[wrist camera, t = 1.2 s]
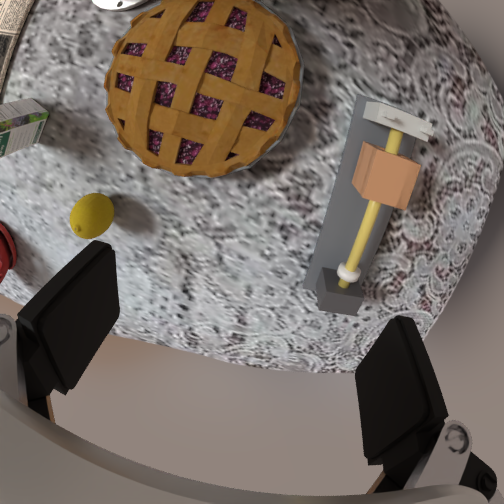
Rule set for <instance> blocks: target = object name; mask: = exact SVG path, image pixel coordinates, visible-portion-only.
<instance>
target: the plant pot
mask: <svg viewBox="0 0 504 504" xmlns="http://www.w3.org/2000/svg"><path fill="white" fill-rule="evenodd" d="M15 264H16V249H15V245H14V242H13V240H12V238H11V235H10V233H8V231H7V230H6V228H5V227H4V226H3V225H2V224H1V223H0V283H1V282H2V280H3V279H4V277H5V275H6V273H7V271H8V269H9V270H10V269H12V268H13V267H14V266H15Z"/></svg>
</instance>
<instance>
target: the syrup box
mask: <svg viewBox="0 0 504 504" xmlns="http://www.w3.org/2000/svg"><path fill="white" fill-rule="evenodd" d="M48 115H49V112H48V111H47V110H45V109H44V108H43V107H42V106H40V105H39V104H38V103H37V102H35V101H34V100H33V99H32V98H28V99H23V100H18V101H14V102H9V103H5V104H1V105H0V158H2V157H4V156H6V155H9V154H11V153H13V152H16V151H18V150H21V149H23V148H26V147H29V146H31V145H34V144H37V143H38V142H39V138H40V135H41V133H42V130H43V128H44V125H45V122H46V120H47V117H48Z"/></svg>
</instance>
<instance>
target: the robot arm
mask: <svg viewBox="0 0 504 504" xmlns="http://www.w3.org/2000/svg"><path fill="white" fill-rule="evenodd" d="M147 1H148V0H92V2H93V3H94V4H95V5H96V6H97V7H100V8H102V9H105V10H108V11H124V10H128V9H131V8H134V7H137V6H139V5H141V4H143V3H145V2H147ZM119 314H120V306H119V297H118V286H117V273H116V257H115V251H114V250H113V249H112V247H111V245H110V244H108V243H104V242H101V241H98V240H94V241H92V242H91V243H90V244H89V245H88V246H86V247H85V248H84V249H83V250H82V251H81V252H80V253H79V254H77V255H76V256H75V257H74V258H73V259H72V260H71V261H70V262H69V263H68V264H67V265H65V266H64V267H63V268H62V269H61V270H60V271H59V272H58V273H57V274H56V275H55V276H54V277H53V278H52V279H51V280H50V281H49V282H48V283H47V284H46V285H45V286H44V287H43V288H42V289H41V290H40V291H39V292H38V293H37V294H36V295H35V296H34V297H33V298H32V299H31V300H30V301H29V302H28V303H27V304H26V305H25V306H24V307H23V309H22V310H21V311H20V312H19V313H18V314H17V316H18V319H17V320H16V321H14V319H13V318H12V317H11V316H9V315H6V314H0V504H504V498H503V497H502V495H501V493H500V492H499V490H496V487H497V477H496V474H495V473H494V471H493V470H492V469H491V468H490V467H489V466H488V465H486V464H485V463H484V462H483V461H482V460H480V459H479V458H478V457H477V456H476V455H474V454H473V453H472V452H471V447H472V437H471V434H470V432H469V430H468V428H467V427H466V426H465V425H464V424H463V423H461V422H459V421H456V420H452V421H449V422H447V423H446V424H445V422H444V419H446V417H448V412H447V409H446V405H445V402H444V399H443V396H442V393H441V390H440V387H439V384H438V381H437V378H436V375H435V372H434V369H433V367H432V364H431V362H430V359H429V356H428V354H427V351H426V349H425V346H424V343H423V341H422V338H421V336H420V334H419V331H418V329H417V326H416V324H415V322H414V320H413V319H412V318H410V317H405V316H400V315H398V316H396V317H395V318H394V319H390V321H389V322H388V323H387V325H386V326H385V328H384V330H383V331H382V333H381V334H380V336H379V337H378V339H377V340H376V342H375V343H374V345H373V346H372V347H371V349H370V350H369V352H368V353H367V355H366V356H365V357H364V359H363V360H362V361H361V363H360V364H359V366H358V367H357V369H356V372H355V380H356V387H357V395H358V402H359V410H360V419H361V428H362V438H363V449H364V456H365V457H366V458H368V465H381V464H383V471H382V472H381V474H380V475H379V477H378V478H377V480H376V481H375V482H374V484H373V485H372V486H371V488H370V489H369V490H368V492H367V493H366V494H362V495H347V496H299V495H298V496H297V495H282V494H271V493H261V492H254V491H247V490H240V489H234V488H228V487H223V486H218V485H213V484H208V483H204V482H200V481H196V480H191V479H188V478H184V477H180V476H177V475H173V474H170V473H167V472H164V471H160V470H157V469H154V468H151V467H148V466H145V465H143V464H140V463H137V462H134V461H132V460H129V459H126V458H124V457H122V456H119V455H117V454H115V453H112V452H110V451H108V450H105V449H103V448H101V447H99V446H97V445H95V444H93V443H91V442H88V441H86V440H84V439H82V438H81V437H79V436H77V435H75V434H73V433H71V432H69V431H67V430H65V429H64V428H62V427H60V426H58V425H56V423H55V418H54V414H53V409H52V404H51V398H50V393H51V392H52V390H53V389H55V390H57V391H59V392H60V393H62V394H64V395H66V394H67V392H68V390H69V389H73V388H74V387H75V386H76V384H77V383H78V381H79V379H80V378H81V376H82V374H83V373H84V371H85V369H86V367H87V366H88V364H89V363H90V361H91V360H92V358H93V356H94V355H95V353H96V351H97V350H98V348H99V347H100V345H101V344H102V342H103V341H104V339H105V337H106V336H107V335H108V333H109V332H110V330H111V328H112V327H113V325H114V324H115V322H116V321H117V319H118V317H119Z"/></svg>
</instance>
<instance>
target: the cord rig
mask: <svg viewBox="0 0 504 504" xmlns="http://www.w3.org/2000/svg"><path fill="white" fill-rule="evenodd" d="M431 127H432V124H431V123H429V122H427V121H424V120H422V119H421V118H420V117H417V116H415V115H413V114H410V113H408V112H406V111H403V110H401V109H398V108H396V107H393V106H391V105H388V104H385V103H383V102H380V101H377V100H374V99H371V98H368V97H365V96H362V95H359V94H357V98H356V103H355V107H354V111H353V115H352V120H351V124H350V128H349V132H348V136H347V140H346V144H345V147H344V151H343V155H342V159H341V163H340V166H339V170H338V174H337V177H336V181H335V184H334V188H333V191H332V195H331V198H330V202H329V205H328V208H327V212H326V215H325V218H324V221H323V225H322V228H321V231H320V234H319V238H318V241H317V244H316V247H315V250H314V253H313V256H312V259H311V262H310V265H309V268H308V271H307V274H306V277H305V280H304V283H303V288H304V289H309V290H315V291H316V292H317V300H318V308H319V310H320V311H327V312H333V313H339V314H346V315H352V316H355V315H356V314H357V312H358V310H359V308H360V306H361V304H362V302H363V300H364V295H363V292H362V289H361V285H362V283H363V281H364V279H365V277H366V274H367V272H368V270H369V268H370V265H371V263H372V261H373V259H374V256H375V254H376V252H377V249H378V247H379V244H380V242H381V239H382V237H383V235H384V232H385V229H386V227H387V224H388V222H389V219H390V217H391V214H392V211H393V208H394V207H393V206H389V205H386V204H382V203H379V202H375V201H372V200H368V199H365V198H362V196H361V195H360V193H359V192H358V191H357V189H356V188H355V187H354V185H353V184H352V180H353V176H354V173H355V169H356V166H357V162H358V159H359V155H360V152H361V148H362V144H363V141H365V142H368V143H371V144H374V145H377V146H380V147H383V148H385V151H387V152H389V153H392V154H395V155H398V153H400V154H403V155H405V156H406V157H408V158H411V154H412V151H413V148H414V144H415V140H416V138H419V139H421V140H424V141H426V142H428V138H429V135H431V136H433V133H434V131H432V130H431Z"/></svg>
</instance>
